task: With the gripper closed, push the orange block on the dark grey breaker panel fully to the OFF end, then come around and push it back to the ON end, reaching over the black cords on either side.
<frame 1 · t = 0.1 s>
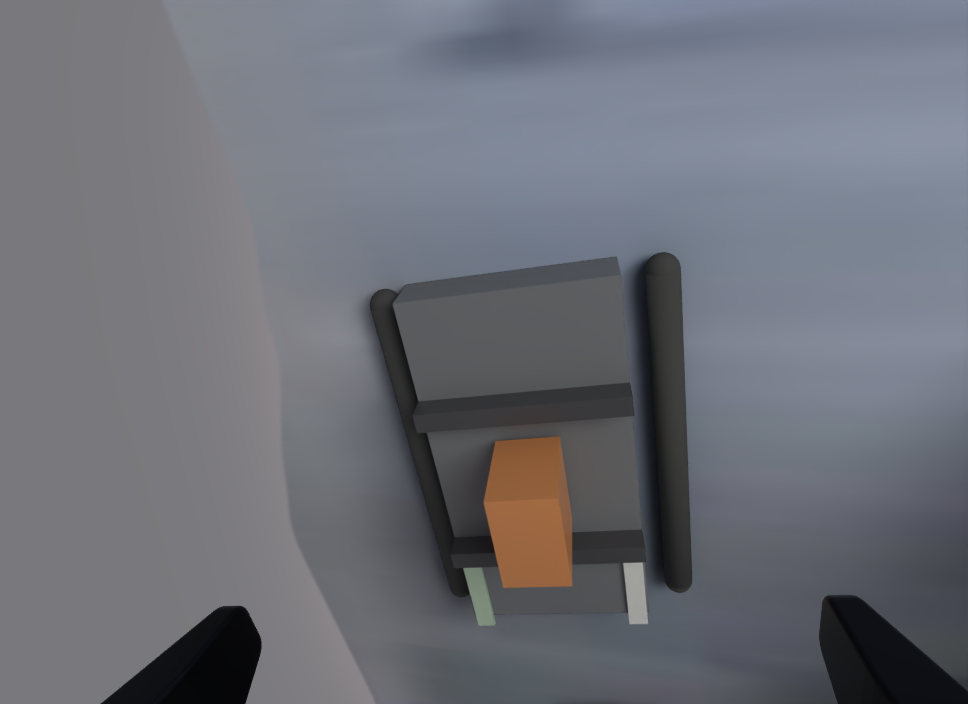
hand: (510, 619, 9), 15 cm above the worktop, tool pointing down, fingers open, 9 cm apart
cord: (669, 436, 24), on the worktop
orange block: (532, 510, 22), point 4 cm above the worktop, slide at 2.5 cm
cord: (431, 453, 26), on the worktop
panel: (537, 445, 25), on the worktop
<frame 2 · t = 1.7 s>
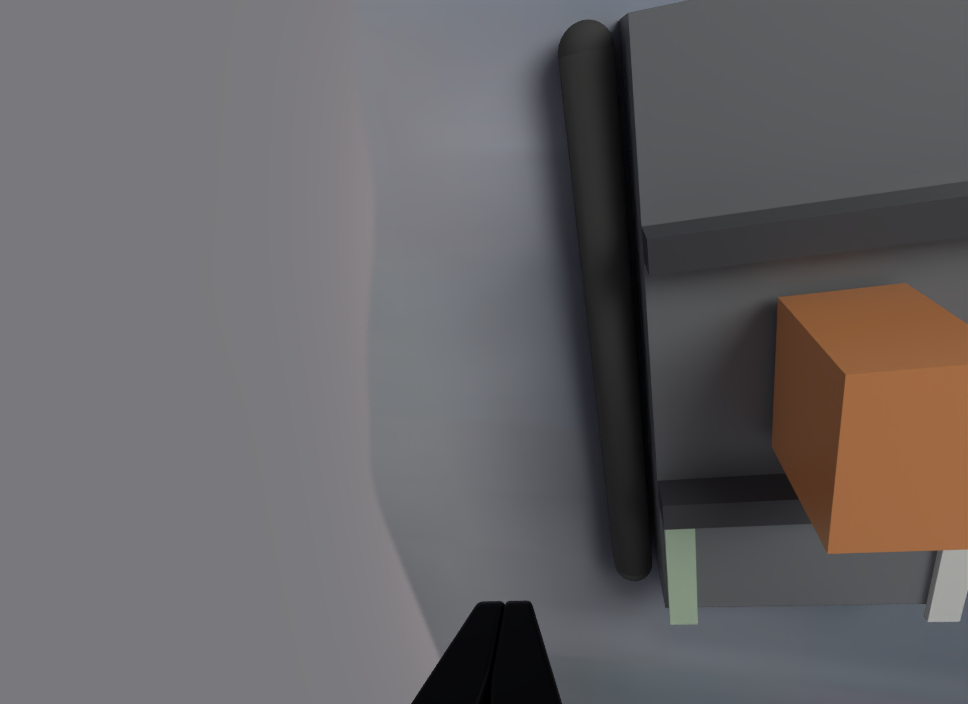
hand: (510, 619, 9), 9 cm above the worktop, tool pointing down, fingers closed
orange block: (868, 413, 12), point 4 cm above the worktop, slide at 2.5 cm
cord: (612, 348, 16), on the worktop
panel: (797, 329, 15), on the worktop
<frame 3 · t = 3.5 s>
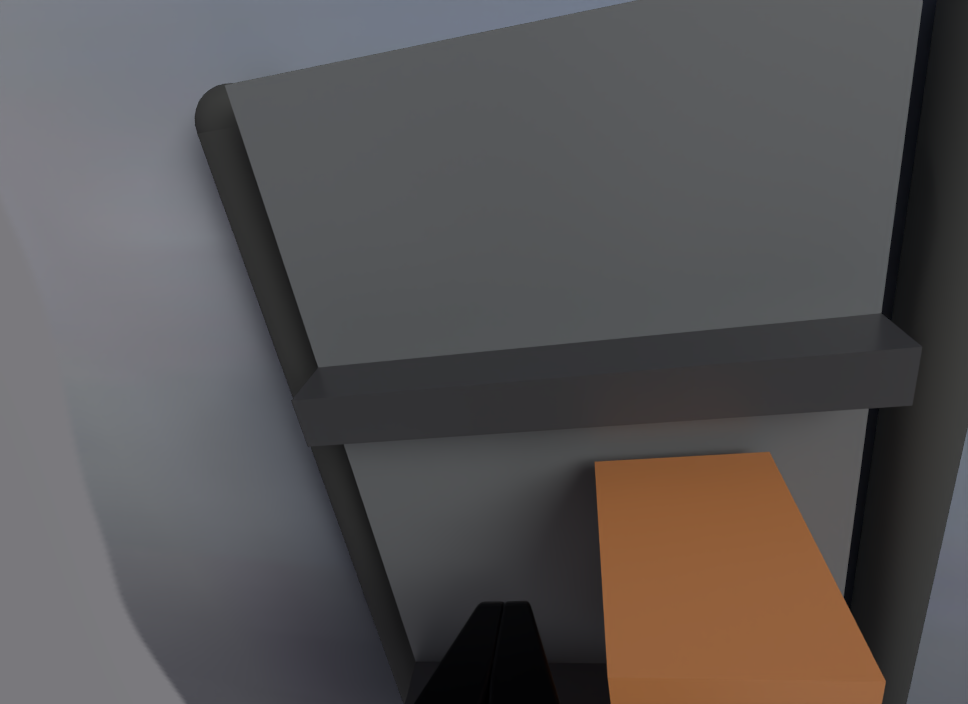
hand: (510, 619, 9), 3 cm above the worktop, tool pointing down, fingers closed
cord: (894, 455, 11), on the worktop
orange block: (704, 653, 8), point 4 cm above the worktop, slide at 1.1 cm, touching gripper
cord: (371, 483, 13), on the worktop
panel: (593, 471, 12), on the worktop
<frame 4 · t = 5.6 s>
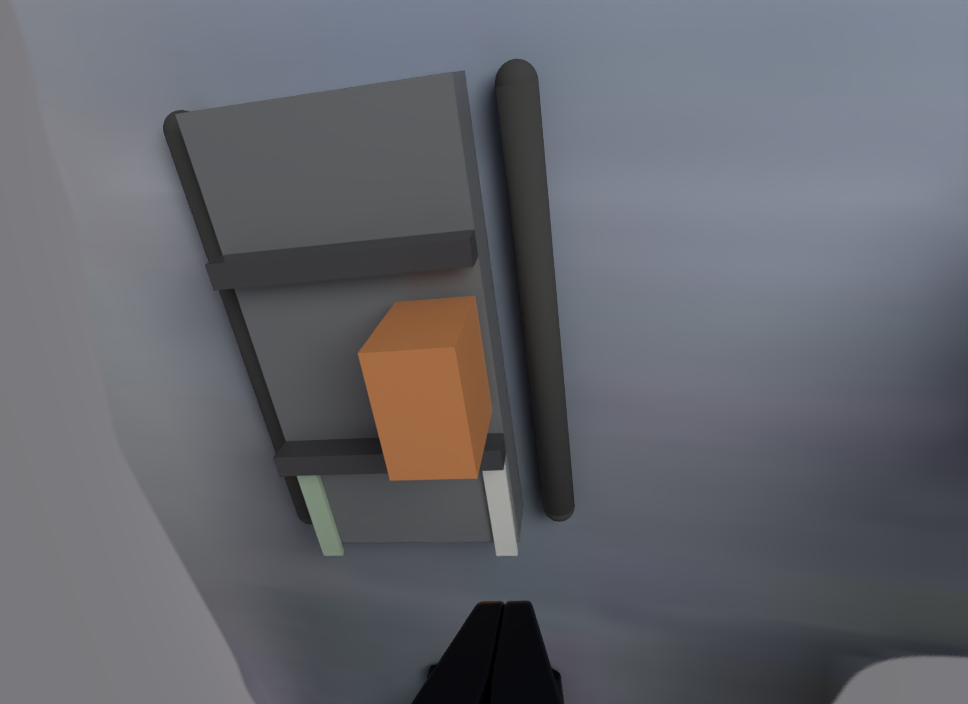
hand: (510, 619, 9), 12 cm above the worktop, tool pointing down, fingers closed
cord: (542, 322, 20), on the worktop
orange block: (433, 385, 17), point 4 cm above the worktop, slide at 0.0 cm
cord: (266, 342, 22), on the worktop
panel: (388, 333, 21), on the worktop
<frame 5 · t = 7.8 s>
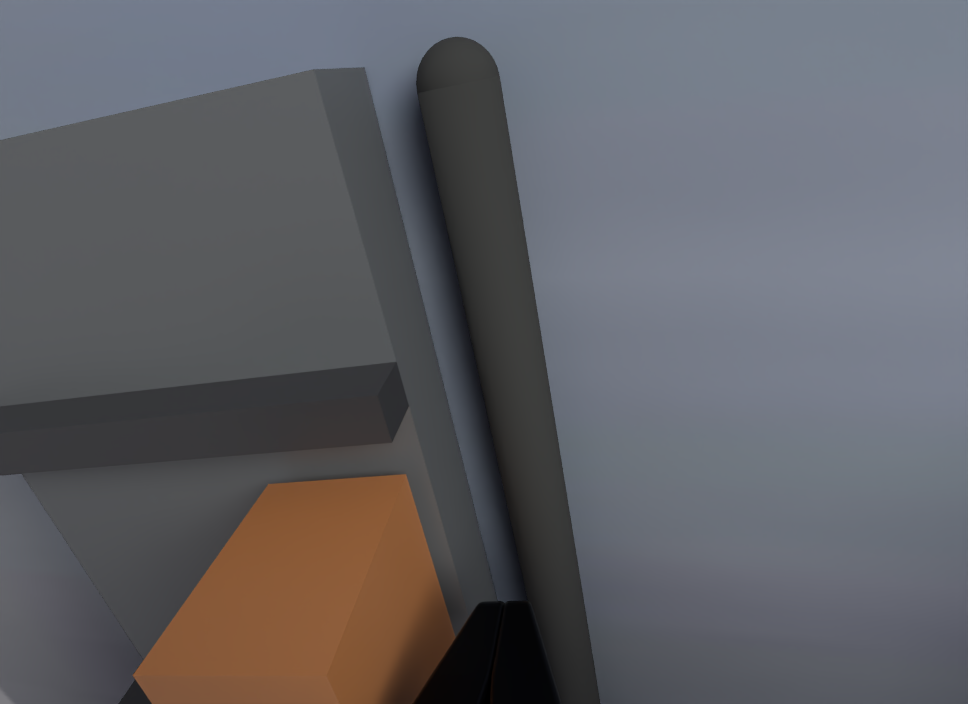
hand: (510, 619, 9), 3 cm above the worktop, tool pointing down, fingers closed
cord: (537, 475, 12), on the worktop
orange block: (333, 653, 9), point 4 cm above the worktop, slide at 0.0 cm, touching gripper
panel: (295, 491, 13), on the worktop
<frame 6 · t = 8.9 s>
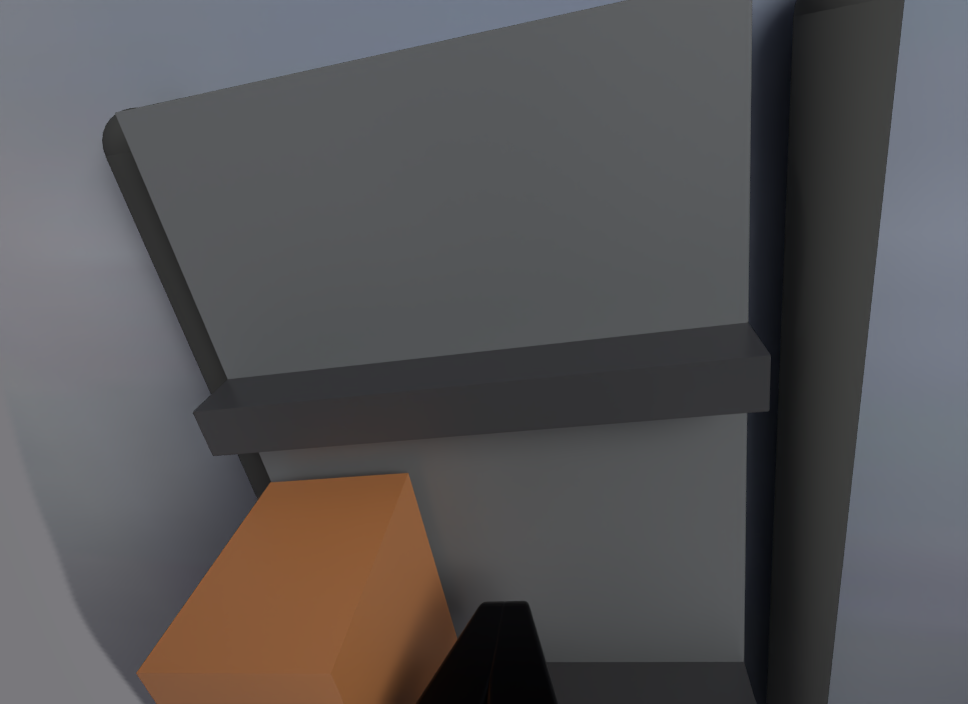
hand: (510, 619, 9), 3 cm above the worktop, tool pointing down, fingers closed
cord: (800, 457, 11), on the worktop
orange block: (335, 651, 9), point 4 cm above the worktop, slide at 5.0 cm, touching gripper
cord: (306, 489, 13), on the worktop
panel: (516, 475, 12), on the worktop
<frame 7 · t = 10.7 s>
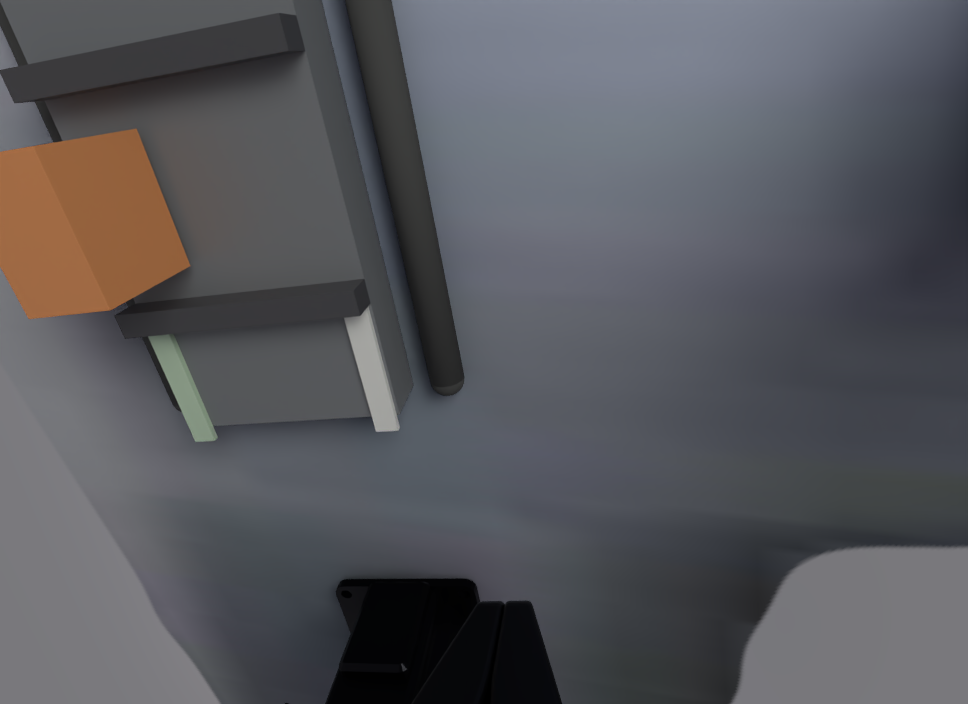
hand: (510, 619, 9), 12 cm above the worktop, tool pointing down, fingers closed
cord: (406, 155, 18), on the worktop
orange block: (84, 221, 16), point 4 cm above the worktop, slide at 5.0 cm
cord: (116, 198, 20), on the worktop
panel: (244, 179, 19), on the worktop
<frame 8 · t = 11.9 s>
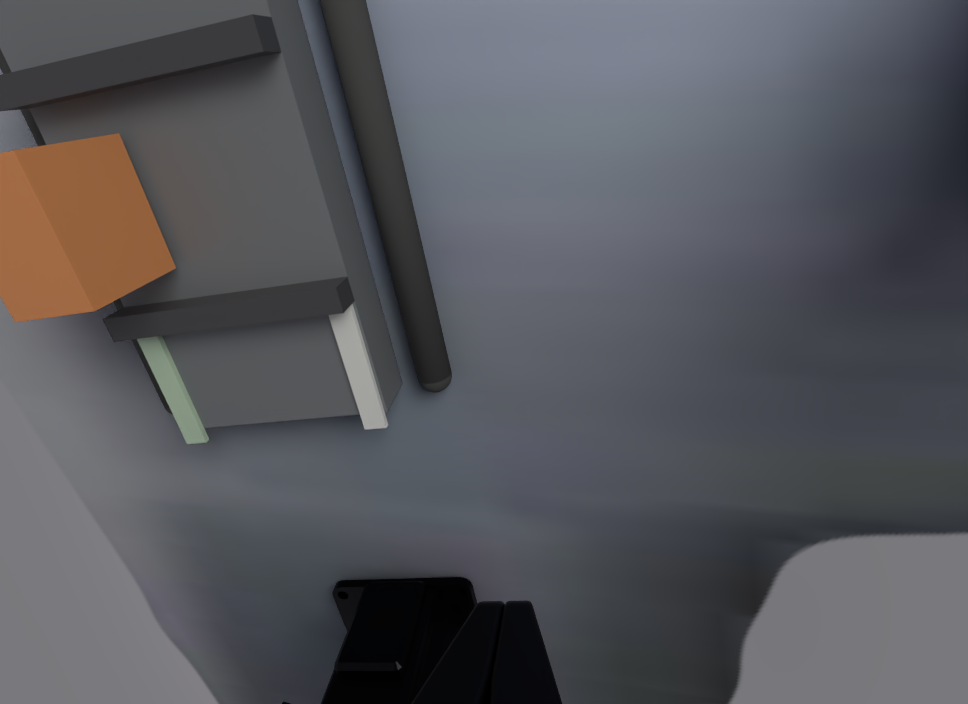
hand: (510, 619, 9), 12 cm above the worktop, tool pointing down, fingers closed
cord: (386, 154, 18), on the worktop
orange block: (68, 224, 16), point 4 cm above the worktop, slide at 5.0 cm
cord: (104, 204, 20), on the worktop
panel: (228, 182, 19), on the worktop
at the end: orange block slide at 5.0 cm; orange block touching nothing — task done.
